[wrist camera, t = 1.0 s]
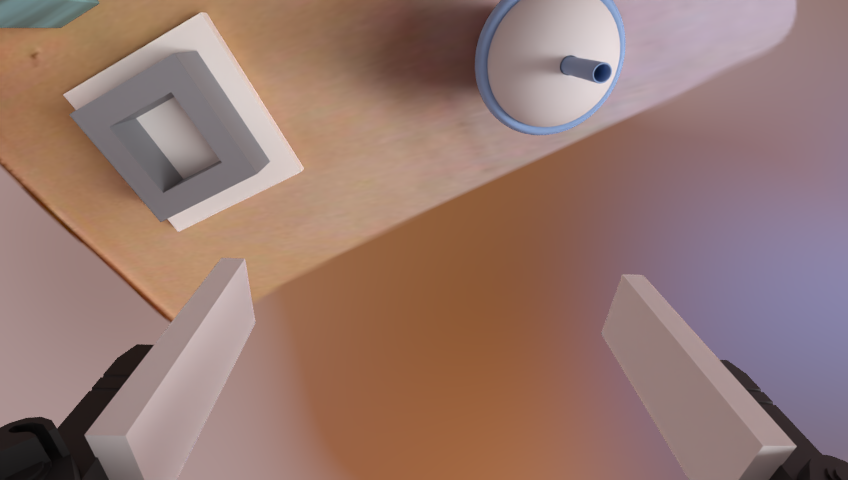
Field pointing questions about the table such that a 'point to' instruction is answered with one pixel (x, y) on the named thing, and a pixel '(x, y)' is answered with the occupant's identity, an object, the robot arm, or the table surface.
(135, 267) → the table surface
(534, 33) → the cup with straw
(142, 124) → the socket block
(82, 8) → the peg
